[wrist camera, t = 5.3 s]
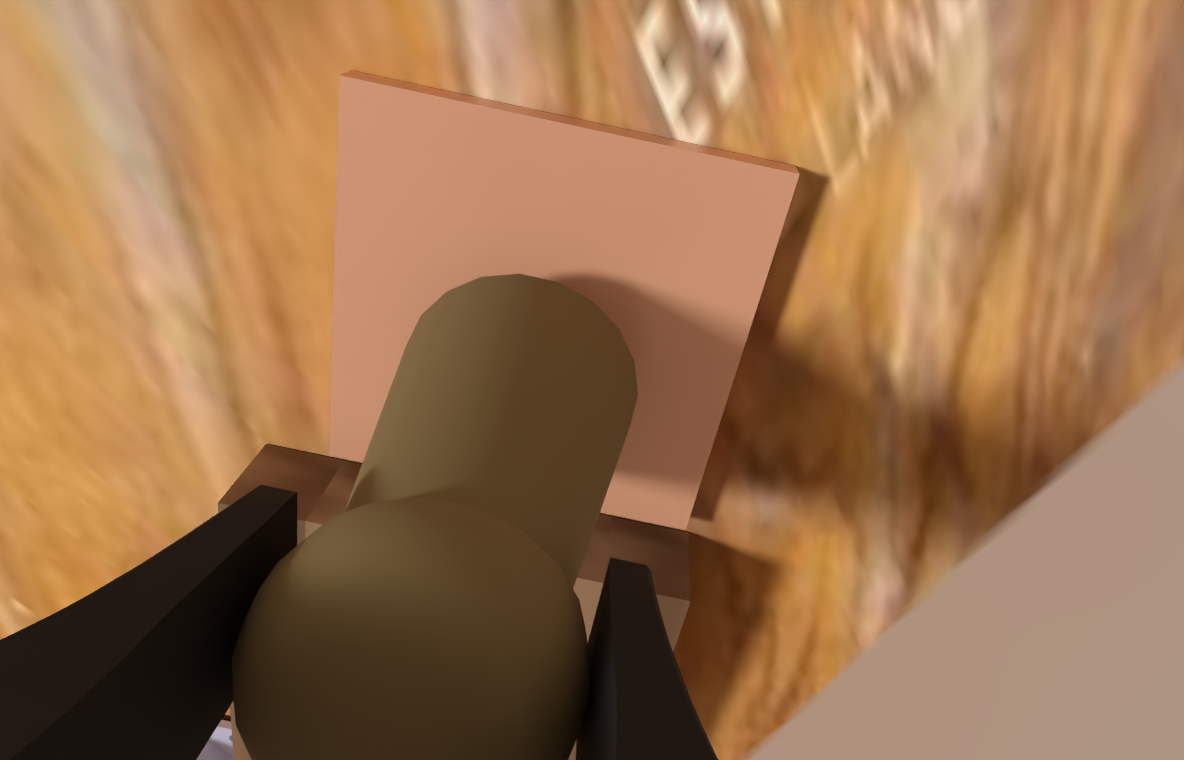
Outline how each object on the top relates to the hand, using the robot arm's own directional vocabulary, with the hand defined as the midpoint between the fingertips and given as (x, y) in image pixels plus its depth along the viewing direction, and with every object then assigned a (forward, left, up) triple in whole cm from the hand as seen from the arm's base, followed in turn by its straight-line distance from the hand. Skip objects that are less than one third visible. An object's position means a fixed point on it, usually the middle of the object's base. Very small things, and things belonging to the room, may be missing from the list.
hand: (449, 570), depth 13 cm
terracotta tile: (0, 0, -10) cm, 10 cm away
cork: (0, -1, -8) cm, 8 cm away
